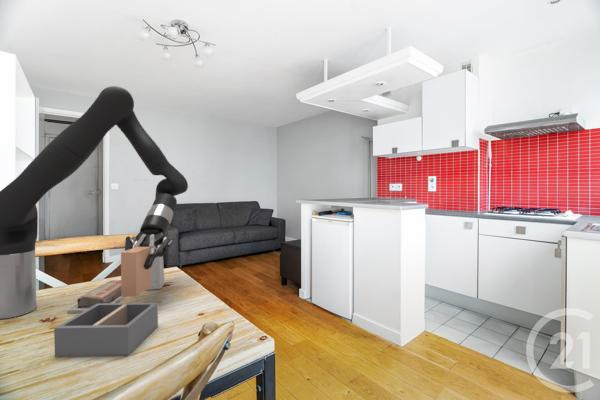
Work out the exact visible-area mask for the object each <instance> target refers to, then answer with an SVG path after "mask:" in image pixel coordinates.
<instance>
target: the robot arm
mask: <svg viewBox="0 0 600 400" xmlns="http://www.w3.org/2000/svg"><path fill="white" fill-rule="evenodd" d="M134 107H135V101H134V98H133V96H132V94H131V92H129V91H128V90H127V89H126V88H124V87H121V86H117V85H116V86H114V85H113V86H108V87H104V89H102V90H101V91H100V93H99V95H98V96H97V97H96V98H95V100H94V101H93V102H92V104H91V105H90V106H89V108H88V109H87V110H86V111H85V112H84V113H83V114H82V115H81V116H80V117H79V118H78V119H76V120H75V121H74V122H72V123H71V124H69V125H68V126H67V127H65V129H63V130H62V131H61V132H60V133H59V134H58V135H56V136H55V137H54V138H53V139H52V140H51V141H50V142H49V143H48V144H47V145H46V146H45V147H44V148H43V149H42V150H41V151H40V152H39V154H37V156H35V157H34V158H33V159H32V160H31V162H30V163H29V164H28V165H27V166H26V167H25V168H24V170H22V172H20V174H18V176H17V177H16V178H14V180H12V182H9V184H8V185H6V186H5V187H4V188H3V189H1V190H0V320H2V319H3V320H4V319H9V318H10V319H11V318H15V317H19V316H24V315H25V314H29V313H31V312H33V311H35V310H37V267H36V266H37V263H36V242H37V239H38V221H39V220H38V215H39V214H38V213H39V212H38V208H37V204H38V202H39V201H40V200H41V199H42V198H43V197H44V195H46V194H47V193H48V192H49V191H50V190H52V189H53V188H54V187H56V186H57V185H58V184H60V183H62V182H63V181H65V180H66V179H68V178H69V177H70V176H72V174H74V173H75V172H77V170H78V169H79V168H81V166H82V165H83V164H84V163H85V162H86V161H87V160H88V159H89V158H90V157H91V155H92V153H94V152H95V150H96V149H97V147H98V146H99V145H100V143H101V141H102V140H103V139H104V137H105V136H106V135H107V133H108V132H110V130H112V129H113V128H114V127H115V126H116V127H117V128H118V129H120V131H121V132H122V134H123V135H124V136H125V137H126V139H127V140H128V142H129V143H130V144H131V146H132V148H133V149H134V151H135V152H136V154H137V155H138V157H139V158H140V160H141V161H142V162H143V165H145V167H146V168H147V170H148V171H149V172H150V173H151V175H152V176H163V177H164V178H163V179H162V180H160V181H159V182H158V183H157V185H156V189H155V197H154V198H155V199H154V201H153V203H152V205H151V207H150V209H149V210H148V211H147V213H146V215H145V218H144V220H143V222H142V224H141V226H140V228H139V229H140V230H139V232H138V234H137V235H136V236H133V237H131V236H126V237H125V244H124V245H125V246H124V251H126V250H129V249H132V248H135V247H151V249H150V252H149V254H150V255H148V256H147V259H146V261H145V264H144V268H145V269H149V268H151V266H152V264H153V262H154V259H155V258H156V257H162V256H163V257H164V255H165V254H166V252H167V251H168V250H169V249H170V247H171V246H172V244H173V240H172V238H171V237H170V236H166V235H167V233H168V230H169V228H170V225H171V223H172V220H173V216H174V212H175V210H176V207H177V204H178V202H177V201H178V200H177V198H176V197H175V196H179V195H181V194H184V193H186V192H187V191H188V188H189V184H188V181H187V178H186V177H185V176H184V175H183V173H181V172H180V171H179V170H178V169H177V168H175V167H174V165H172V164H171V163H170V161H168V159H167V158H166V156H165V154H164V153H163V152H162V150H161V148H160V147H159V145H157V142H155V140H153V139H152V137H151V136H150V134H149V133H147V131H146V130H145V128H144V127H143V125H142V124H141V123H140V121H139V119H138V117H137V116H136V113H135V111H134ZM158 245H161V246H160V247H159V248H158Z"/></svg>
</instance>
